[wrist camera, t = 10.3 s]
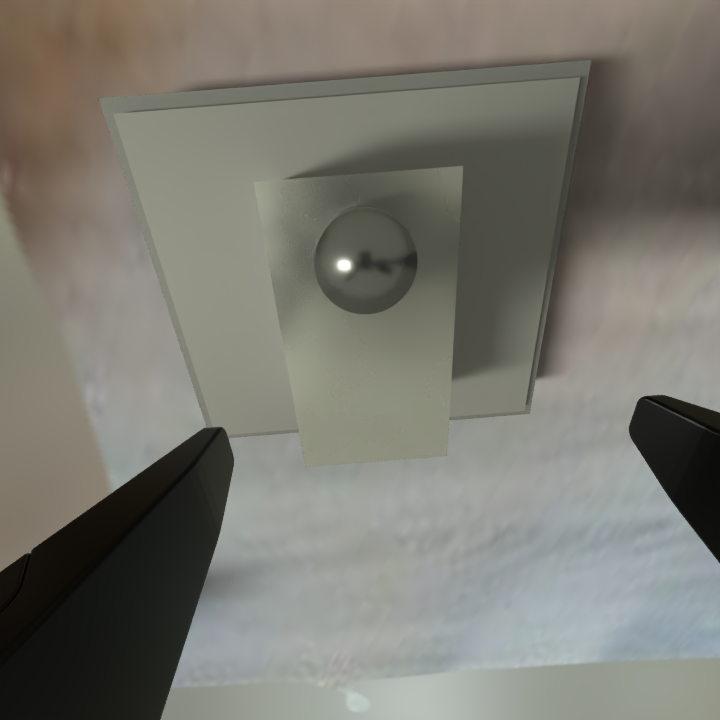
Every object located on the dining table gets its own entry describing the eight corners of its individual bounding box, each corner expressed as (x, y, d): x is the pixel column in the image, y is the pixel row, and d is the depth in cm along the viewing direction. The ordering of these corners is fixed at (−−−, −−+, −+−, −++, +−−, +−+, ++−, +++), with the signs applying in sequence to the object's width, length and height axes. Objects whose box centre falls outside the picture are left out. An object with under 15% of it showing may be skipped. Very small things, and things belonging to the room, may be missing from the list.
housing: (422, 388, 17) (456, 481, 12) (314, 397, 17) (301, 493, 12) (425, 168, 13) (480, 164, 8) (282, 179, 13) (240, 182, 8)
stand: (550, 78, 14) (599, 56, 11) (508, 386, 20) (533, 418, 18) (139, 111, 14) (91, 96, 11) (225, 409, 20) (207, 444, 18)
